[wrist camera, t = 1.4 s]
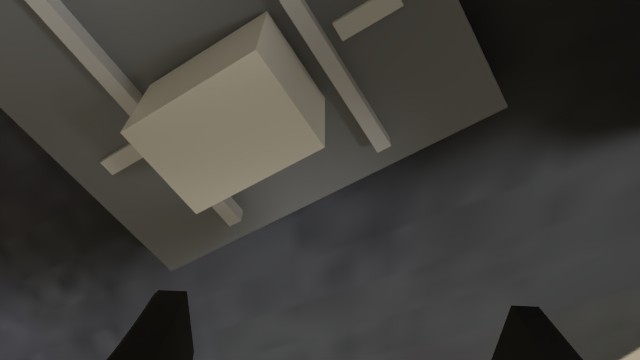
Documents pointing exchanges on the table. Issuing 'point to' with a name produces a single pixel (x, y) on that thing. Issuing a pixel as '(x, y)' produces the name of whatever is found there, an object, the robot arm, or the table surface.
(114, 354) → the robot arm
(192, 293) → the table surface
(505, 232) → the table surface
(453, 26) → the panel
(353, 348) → the table surface
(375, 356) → the table surface
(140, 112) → the block
